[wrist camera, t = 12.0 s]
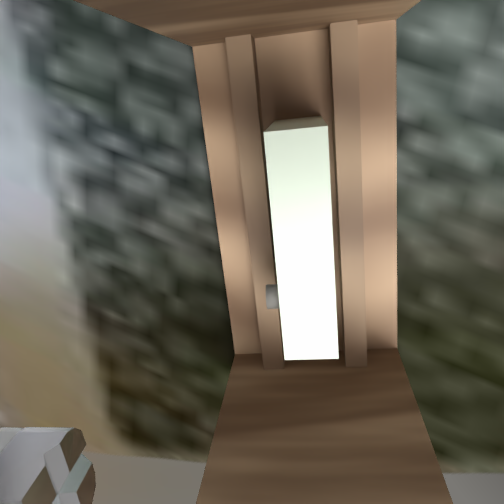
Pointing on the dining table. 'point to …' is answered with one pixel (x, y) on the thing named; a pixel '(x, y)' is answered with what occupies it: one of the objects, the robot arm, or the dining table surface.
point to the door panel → (302, 237)
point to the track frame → (344, 243)
